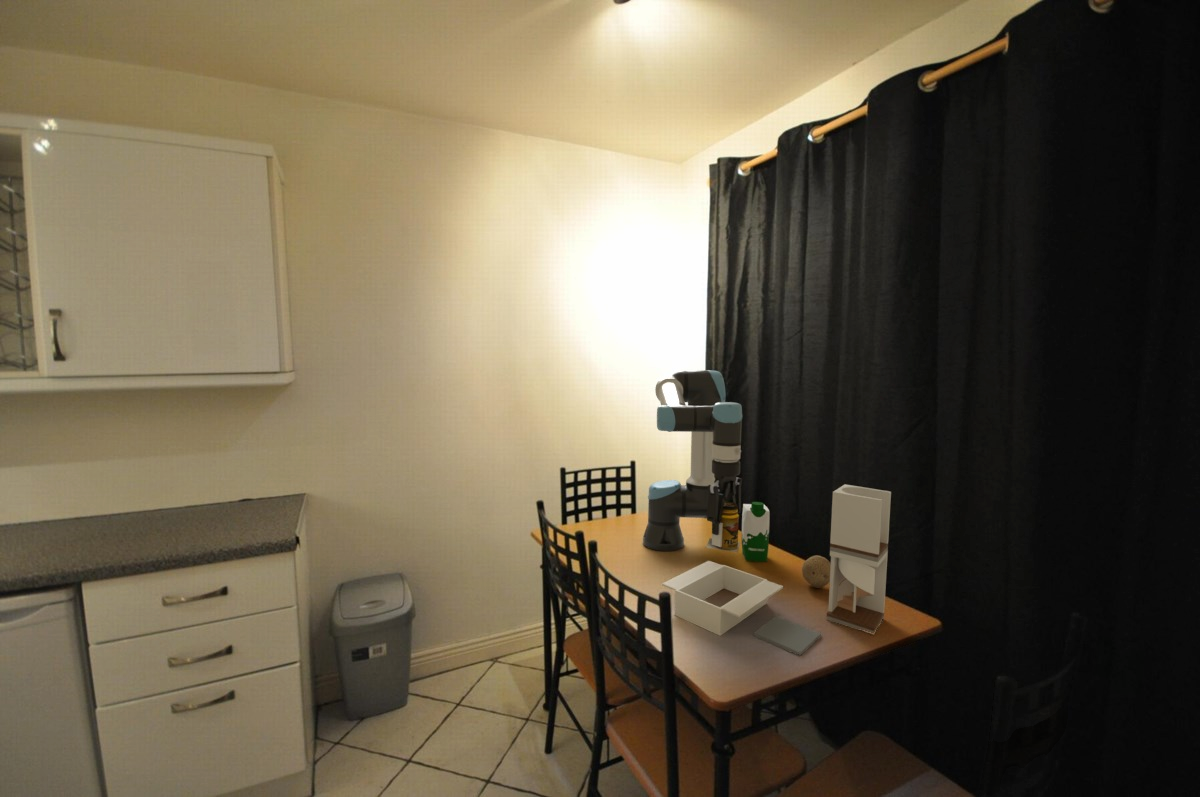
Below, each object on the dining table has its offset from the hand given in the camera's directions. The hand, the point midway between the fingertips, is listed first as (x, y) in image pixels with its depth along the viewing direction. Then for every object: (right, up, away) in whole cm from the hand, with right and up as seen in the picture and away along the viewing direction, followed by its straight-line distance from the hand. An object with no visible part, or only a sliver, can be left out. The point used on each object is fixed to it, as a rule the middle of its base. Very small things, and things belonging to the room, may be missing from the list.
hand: (723, 542), depth 142 cm
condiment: (0, -1, 0) cm, 1 cm away
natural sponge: (+32, -18, +15) cm, 39 cm away
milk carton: (+20, -16, +38) cm, 46 cm away
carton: (0, -19, +2) cm, 19 cm away
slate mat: (+13, -20, -12) cm, 27 cm away
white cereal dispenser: (+34, -20, -4) cm, 40 cm away
